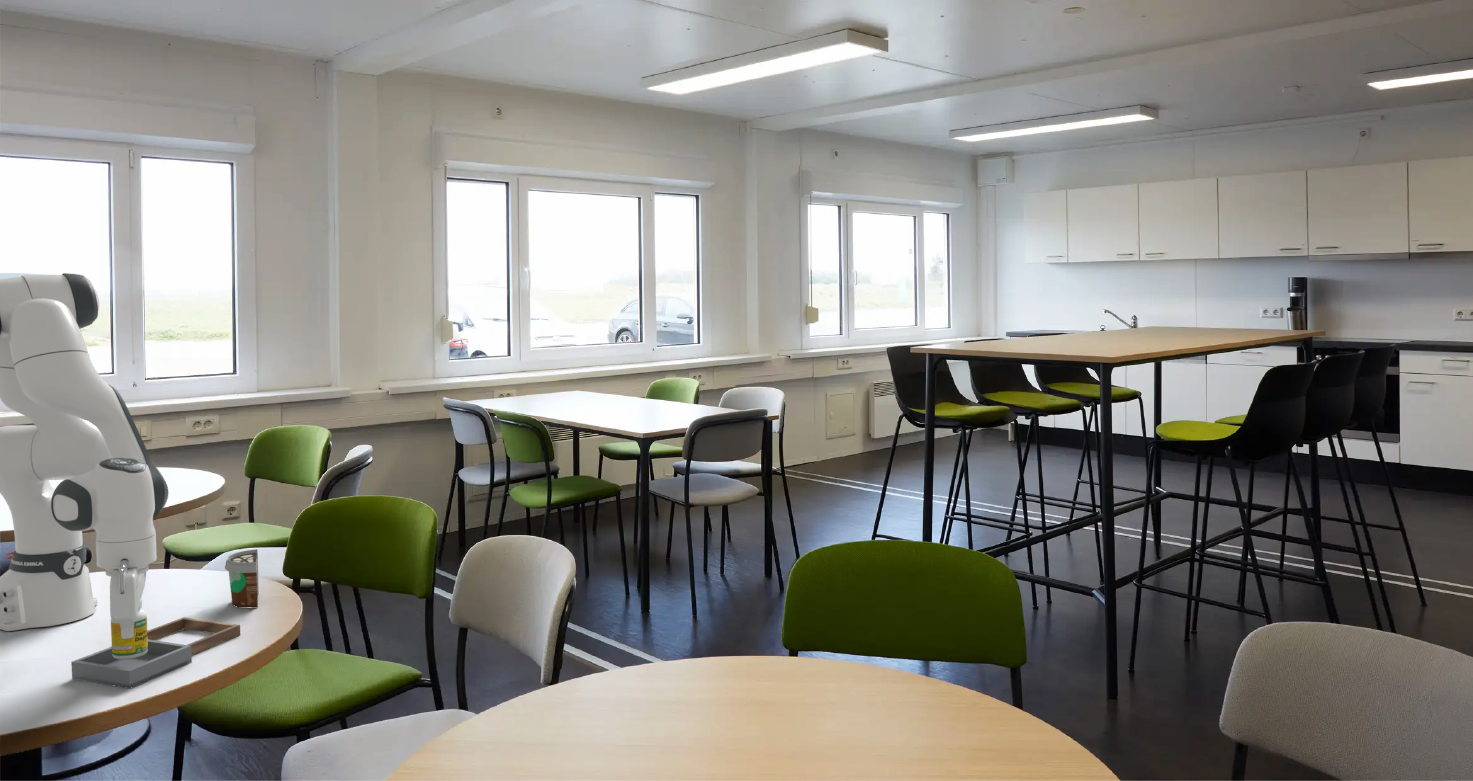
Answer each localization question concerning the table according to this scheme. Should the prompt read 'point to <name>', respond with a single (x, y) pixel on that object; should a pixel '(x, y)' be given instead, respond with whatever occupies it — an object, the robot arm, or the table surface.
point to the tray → (131, 665)
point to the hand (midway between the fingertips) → (129, 631)
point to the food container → (243, 578)
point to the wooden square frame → (220, 629)
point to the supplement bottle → (130, 645)
